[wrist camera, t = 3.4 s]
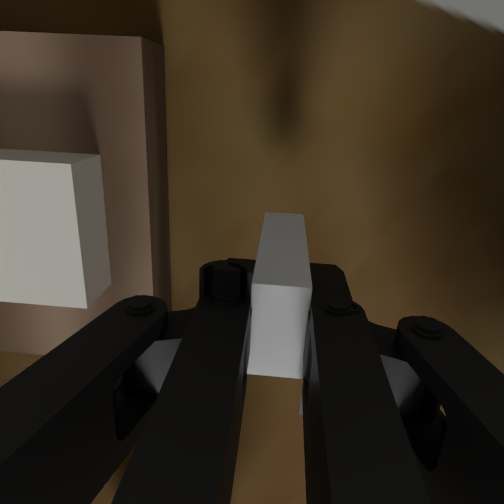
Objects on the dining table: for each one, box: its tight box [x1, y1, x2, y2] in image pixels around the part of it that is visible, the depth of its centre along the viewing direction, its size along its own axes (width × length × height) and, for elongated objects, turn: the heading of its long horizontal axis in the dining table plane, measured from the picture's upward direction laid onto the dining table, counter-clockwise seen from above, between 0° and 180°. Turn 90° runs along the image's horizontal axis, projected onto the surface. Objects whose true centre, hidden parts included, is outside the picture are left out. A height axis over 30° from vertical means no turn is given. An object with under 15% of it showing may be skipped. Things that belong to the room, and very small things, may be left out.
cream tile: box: [0, 149, 111, 309], centre depth 17 cm, size 6×6×2 cm
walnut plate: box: [0, 31, 171, 355], centre depth 20 cm, size 16×15×3 cm
